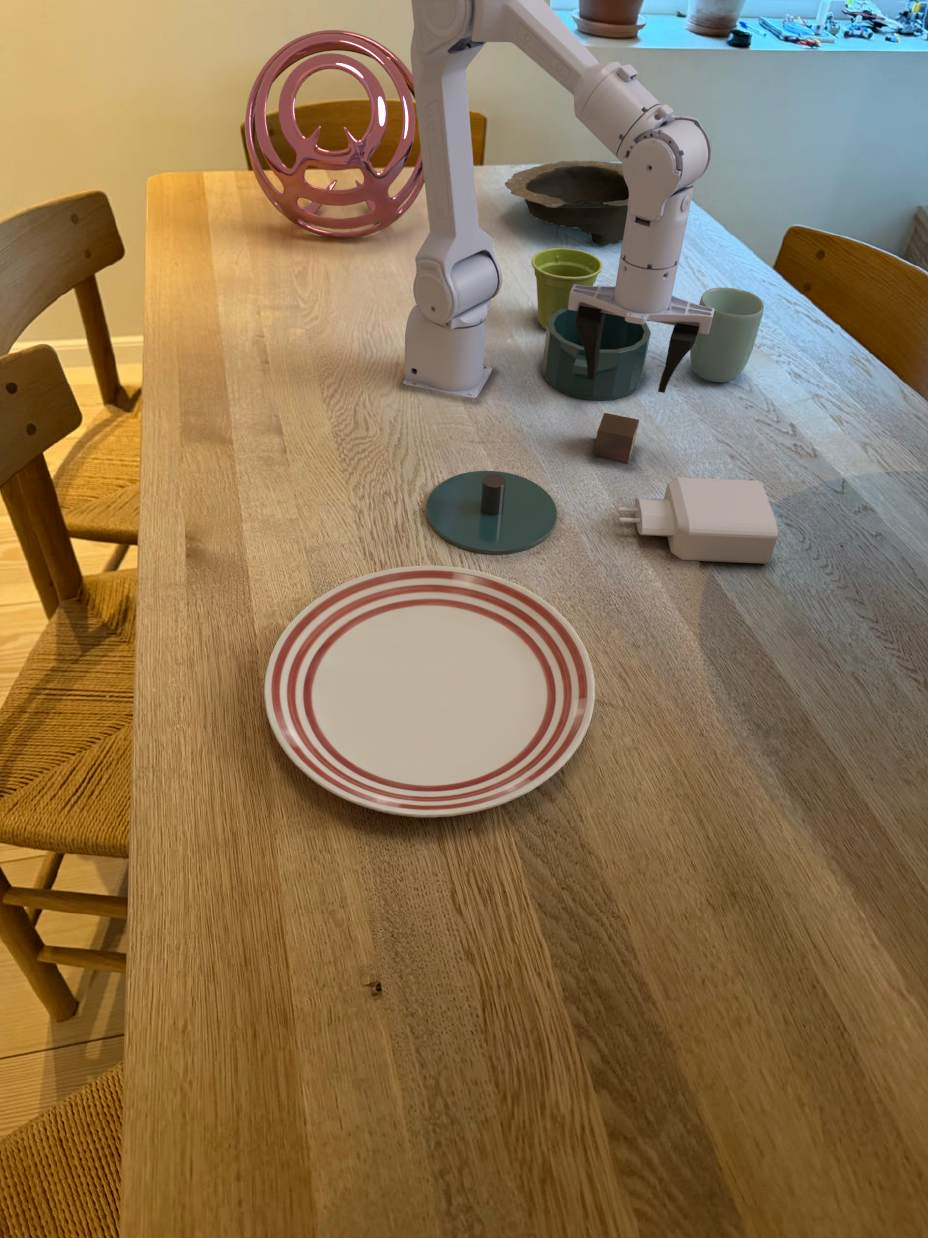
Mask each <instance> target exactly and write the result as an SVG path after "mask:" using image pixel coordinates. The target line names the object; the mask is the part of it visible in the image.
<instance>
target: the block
mask: <svg viewBox="0 0 928 1238" xmlns="http://www.w3.org/2000/svg"><path fill="white" fill-rule="evenodd" d="M639 423H640V419H637V418H632V417H629V416H628V417H627V416H624V415H623V416H622V415H619V414H613V413H608V412H604V413H603V415H602V418H601V420H600V422H599V426H598V428H597V431H596V438H595V444H594V450H593V458H597V459H603V460H606V461H610V462H611V461H612V462H617V463H621V464H625V465H626V464H627V465H628V464H629V462H630V460H631V456H632V453H633V450H634V447H635V443H636V437H637V433H638V427H639Z"/></svg>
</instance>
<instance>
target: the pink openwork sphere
mask: <svg viewBox="0 0 928 1238" xmlns="http://www.w3.org/2000/svg"><path fill="white" fill-rule="evenodd" d="M336 51H337V52H338V51H339V52H340V51H341V52H351V53H356V54H359V55H363V56H365V57H368V58H371V59H373V60H374V61H375V62H377V63H378V64H379V65H380V67H382V69H383V70H384V71H385V72H386V73H387V75H388V76H389V77H390V79H391V81H392V83H393V85H394V87H395V89H396V92H397V94H398V97H399V101H400V105H401V113H402V127H401V134H400V138H399V142H398V144H397V148H396V150H395V152H394V154H393V156H392V157H391V159H390V161H389V162H388V163H387V165H386V166H385V167H384V168H383V169H382V170H381V171H377V170H376V169H375V168H374V166H373V165H372V161H371V160H372V159H371V158H372V157H373V154H375V152H376V151H377V150H378V148H379V147H380V145H381V143H382V141H383V139H384V136H385V134H386V130H387V127H388V117H389V112H388V109H389V108H388V102H387V98H386V95H385V92H384V89H383V87H382V85H381V83H380V81H379V80H378V78H377V76H375V74H374V73H373V72H372V71H371V70H370V69H369V68H368V67H367V66H366V65H365V64H364V63H362V62H360V61H359V60H357V59H356V58H354V57H351V56H348V55H346V54H341V53H332V52H336ZM324 52H327V53H324ZM329 52H331V53H329ZM319 53H321V54H319ZM312 55H314V56H312ZM310 56H311V57H310ZM307 57H309V58H307ZM305 58H307V59H305ZM302 59H305V60H303V61H302V62H300V63H299V64H298V65H296V67H294V69H293V70H292V71H291V72H290V73H289V74H288V76H287V78H286V79H285V81H284V84H283V86H282V88H281V90H280V94H279V98H278V99H279V100H278V120H279V125H280V128H281V131H282V135H283V137H284V138H285V140H286V142H287V143H288V146H289V147H290V148H291V149H292V151H293V153H294V154H295V157H296V159H295V162H294V165H293V166H292V167H291V168H289V167H288V166H286V165H285V163H284V162H283V161H282V160H281V158H280V157H279V155H278V153H277V151H276V150H275V148H274V146H273V143H272V140H271V138H270V134H269V130H268V125H267V124H268V123H267V105H268V99H269V94H270V91H271V89H272V86H273V84H274V82H275V81H277V79H278V78H279V77H280V75H282V74H283V72H284V71H286V70H287V69H289V67H291V66H293V65H294V64H295V63H298V62H299V61H300V60H302ZM324 70H339V71H342V72H345V73H347V74H349V75H350V76H352V77H354V78H355V79H356V80H357V81H358V82H359V83H360V85H361V86H362V87H363V88H364V90H365V92H366V94H367V97H368V99H369V105H370V118H369V123H368V126H367V129H366V130H365V132H364V134H363V135H362V137H361V138H360V139H356V138H355V136H353V134H352V133H351V132H350V130H348V128H347V127H345V126H343V127H342V128H343V132H344V135H345V137H346V141H347V144H348V145H347V147H346V148H344V149H339V150H329V149H324V148H321V147H319V145H318V139H319V136H320V134H321V131H322V125H318V126H317V128H316V129H315V130H314V131H313V132H312V134H311V135H309V137H306V136H305V135H304V134H303V132H302V131H301V129H300V127H299V125H298V122H297V119H296V114H295V113H296V111H295V106H296V105H295V104H296V98H297V96H298V93H299V90H300V88H301V86H302V85H303V84H304V82H305V81H307V79H308V78H310V77H311V76H312V75H313V74H314V75H315V73H318V72H321V71H324ZM412 98H413V99H414V100H415V93H414V84H413V75H412V71H411V70H410V69H409V68H408V66H407V65H406V64H405V63H404V61H403V60H401V58H399V56H397V54H395V53H394V52H393V51H392V50H391V49H389V48H388V47H387V46H385V45H383V44H382V43H381V42H379V41H377V40H375V39H373V38H371V37H369V36H366V35H364V34H361V33H357V32H354V31H349V30H342V29H326V30H317V31H312V32H309V33H305V34H304V35H300V36H299V37H296V38H294V39H293V40H291V41H289V42H288V43H286V44H284V45H283V46H282V47H281V48H279V49H277V51H276V52H274V53H273V55H271V57H270V58H269V59H268V60H267V61H266V63H265V64H264V65H263V67H262V68H261V69H260V71H259V72H258V74H257V76H256V77H255V80H254V81H253V83H252V87H251V90H250V92H249V95H248V99H247V103H246V107H245V115H244V135H245V142H246V149H247V153H248V155H249V156H248V158H249V161H250V165H251V168H252V171H253V174H254V176H255V179H256V181H257V183H258V185H259V187H260V189H261V190H262V192H263V194H264V195H265V197H266V199H268V201H269V202H270V203H271V205H272V206H273V207H274V209H276V210H277V211H278V212H279V213H280V214H281V215H282V216H283V217H285V219H287V220H288V221H290V222H291V223H293V224H294V225H295V226H297V227H299V228H301V229H303V230H305V231H307V232H309V233H312V234H314V235H318V236H321V237H325V238H330V239H344V240H345V239H357V238H362V237H367V236H369V235H372V234H375V233H378V232H380V231H382V230H384V229H386V228H388V227H389V226H391V225H393V224H394V223H395V222H397V221H398V220H399V219H400V218H401V217H402V216H403V215H404V214H405V213H406V212H407V211H408V210H409V209H410V207H412V205H413V204H414V203H415V201H416V199H417V198H418V197H419V195H420V193H421V191H422V190H423V187H424V186H425V182H424V173H423V164H422V155H421V148H420V150H419V154H418V158H417V161H416V163H415V166H414V168H413V171H412V172H411V175H410V176H409V178H408V180H407V181H406V182H405V184H404V186H403V187H402V188H401V189H400V190H399V192H397V194H395V195H394V196H391V195H389V189H390V187H391V186H392V184H393V183H394V182H395V181H396V179H398V177H399V176H400V174H401V173H402V171H403V170H404V168H405V166H406V164H407V162H408V160H409V158H410V155H411V153H412V149H413V145H414V141H415V135H416V113H415V112H416V111H415V105H414V102H413V99H412ZM255 136H256V137H257V138H256V137H255ZM256 139H257V142H258V146H259V148H260V151H261V153H262V156H263V158H264V160H265V162H266V164H267V165H268V167H269V168H270V170H271V171H272V172H273V174H274V175H275V176H276V177H277V179H278V180H279V181H280V183H281V185H282V187H283V192H280V191H279V190H278V189H277V188H276V187H275V185H274V184H273V183H272V182H271V181H270V179H269V177H268V176H267V174H266V172H265V171H264V169H263V167H262V165H261V162H260V160H259V158H258V154H257V151H256ZM308 167H315V168H318V169H320V170H321V169H322V170H326V171H345V170H350V169H352V168H357V169H359V170H360V172H361V174H362V176H363V181H362V183H360V182H359V180H357V179H355V181H354V182H355V185H356V186H355V187H352V188H351V187H350V188H345V189H335V186H336V184H337V183H338V179H334V180H333V181H331V182H330V183H329V184H328V186H327V187H326V188H323V187H319V186H316V185H313V184H311V183H309V182H308V181H307V180H306V175H305V174H306V172H307V168H308ZM300 199H305V200H307V201H310V203H308V204H307V205H306V206H304V207H301V205H299V202H298V201H299V200H300ZM363 202H364V203H365V204H366V206H367V208H368V209H369V210H370V211H369V212H368V213H365V214H361V215H357V216H352V217H341V218H340V217H339V218H337V217H336V218H335V217H327V216H323V215H322V216H321V215H318V214H317V212H318V211H319V210H320V209H321V208H322V206H330V207H345V206H353V205H358V204H360V203H363ZM373 224H374V225H373ZM370 225H373V226H370ZM367 226H370V227H367ZM363 227H366V228H363ZM323 228H324V229H323ZM359 228H363V229H359ZM327 229H330V230H327ZM352 229H359V230H353V231H334V230H352Z"/></svg>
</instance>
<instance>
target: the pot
mask: <svg viewBox="0 0 928 1238" xmlns="http://www.w3.org/2000/svg"><path fill="white" fill-rule="evenodd" d="M577 314H578V311H573V310H568V307H563V308H562V309H560V310H558V311H556V312H555V313H553V314H552V315H551V317H550V318H549V320H548V322H547V328H546V329H545V337H544V338H545V339H544V347H543V354H542V355H543V356H542V363H541V367H542V376H543V377H544V379H545V381H546V382H547V383H548V384H549V385H550V386H551V387H553V389H555V390H557V391H559V392H560V393H563V394H565V395H567V396H571V397H574V398H577V399H581V400H589V401H611V400H618V399H621V398H625V397H627V396H629V395H632V394H633V393H634V392H635V391H637V390H638V388H639V387H640V385H641V382H642V378H643V374H644V371H645V364H646V359H647V354H648V351H649V350H648V349H649V344H650V340H651V335H652V332H651V330H650V328H649V325H648V323H647V322H646V323H645V324H635V323H630V322H627V321H625V317H623V316H618V315H613V314H607V313H606V314H605V319H604V325H603V330H602V335H601V342H600V353H599V363H598V368H597V372H596V375H595V377H594V379H588V378H587V362H586V356H585V351H584V347H583V344H582V341H581V338H580V335H579V333H578V331H577V329H576V323H575V321H576V318H577Z"/></svg>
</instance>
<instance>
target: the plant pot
mask: <svg viewBox="0 0 928 1238" xmlns="http://www.w3.org/2000/svg"><path fill="white" fill-rule="evenodd" d="M531 266H532V268H533V271H534V276H535V280H536V298H537V300H536V301H537V321H538V324H540V325H541V327H542V328H543V329H545V330H546V328H547V322H548V320H549V318H550V317H551V315H552V314H553V313H555V312H556V311H558V310H560V309H562V308H563V307H568V303H569V296H570V291H571V289H572V287H573V285H574V284H575V285H582V286H594V283H595V282H596V281H597V278H598V275H599V274H600V273H601V272H602V270H603V262H602V261H601V259H600V258H599V257H597V256H595V255H594V254H593V253H590V252H587V251H584V250H580V249H576V248H567V247H554V248H547V249H543V250H540V251H538V252H537V253H535V254H534V255H533V256H532V257H531Z"/></svg>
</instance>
